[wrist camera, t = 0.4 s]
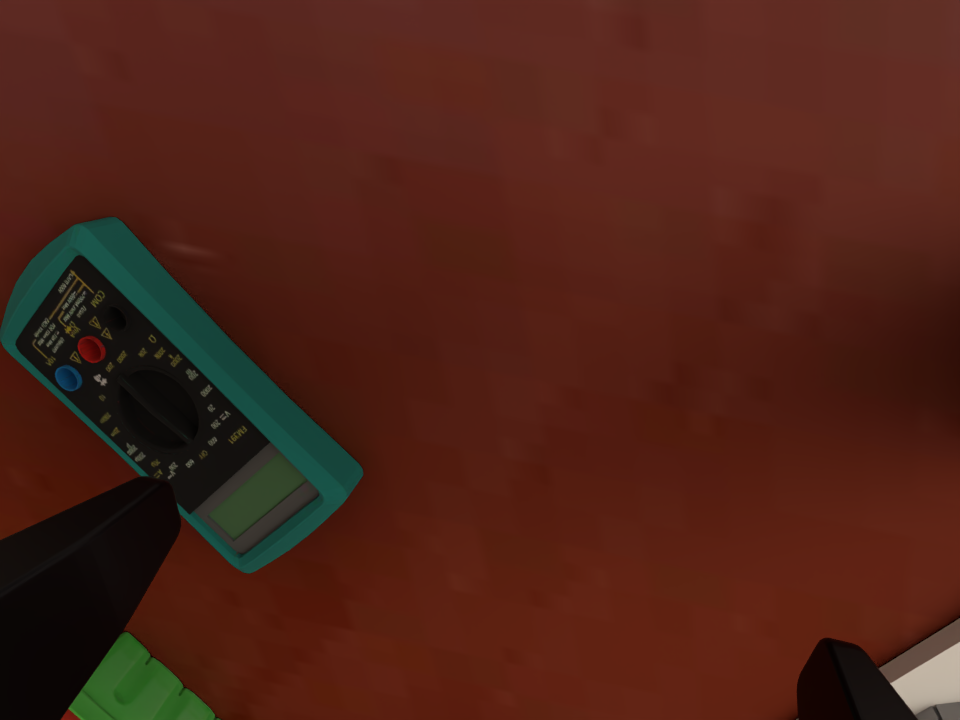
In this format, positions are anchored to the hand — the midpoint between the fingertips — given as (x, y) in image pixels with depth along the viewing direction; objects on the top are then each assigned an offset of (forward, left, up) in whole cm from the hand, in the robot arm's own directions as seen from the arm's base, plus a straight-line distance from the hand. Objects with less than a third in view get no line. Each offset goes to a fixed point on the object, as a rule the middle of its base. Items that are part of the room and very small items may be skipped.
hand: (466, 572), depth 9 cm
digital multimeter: (-5, +15, -15) cm, 22 cm away
